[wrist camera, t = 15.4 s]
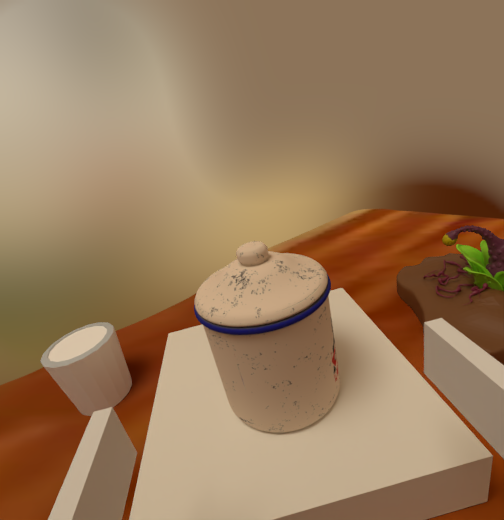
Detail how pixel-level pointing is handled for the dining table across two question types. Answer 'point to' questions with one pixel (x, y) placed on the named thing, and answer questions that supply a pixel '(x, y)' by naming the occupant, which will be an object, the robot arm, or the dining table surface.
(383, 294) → the dining table surface
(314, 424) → the plinth
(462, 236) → the dining table surface
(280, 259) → the teacup with lid
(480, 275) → the plant
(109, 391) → the white cup
